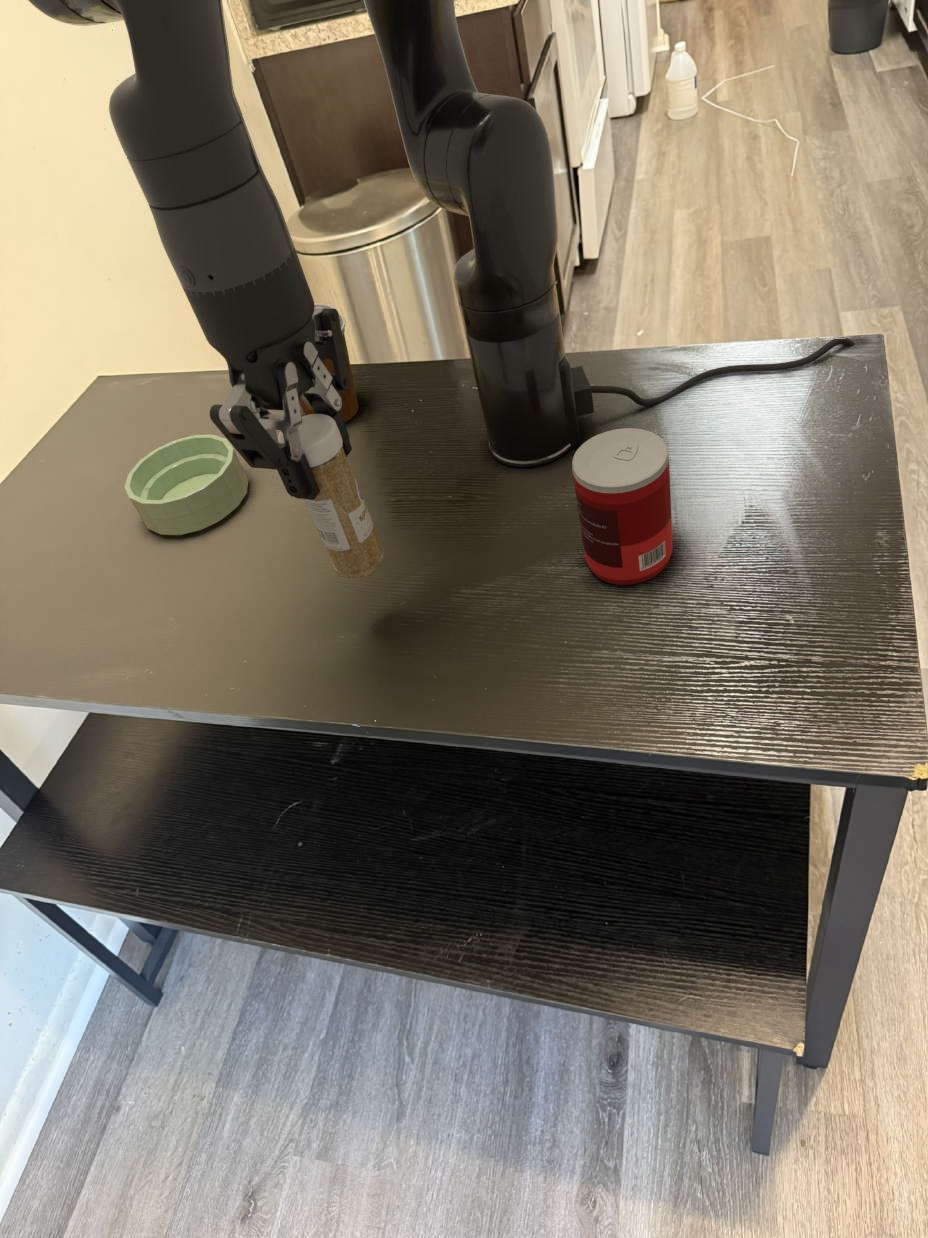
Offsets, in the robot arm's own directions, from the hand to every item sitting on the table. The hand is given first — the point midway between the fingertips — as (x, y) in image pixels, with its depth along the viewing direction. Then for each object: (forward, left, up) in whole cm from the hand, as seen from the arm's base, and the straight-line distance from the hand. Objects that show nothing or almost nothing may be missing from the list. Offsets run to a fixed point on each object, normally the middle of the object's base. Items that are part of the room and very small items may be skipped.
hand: (323, 473), depth 66 cm
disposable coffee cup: (+4, -38, -17) cm, 42 cm away
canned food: (-23, -1, -17) cm, 28 cm away
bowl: (+20, -26, -17) cm, 37 cm away
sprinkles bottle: (0, 0, -10) cm, 10 cm away
